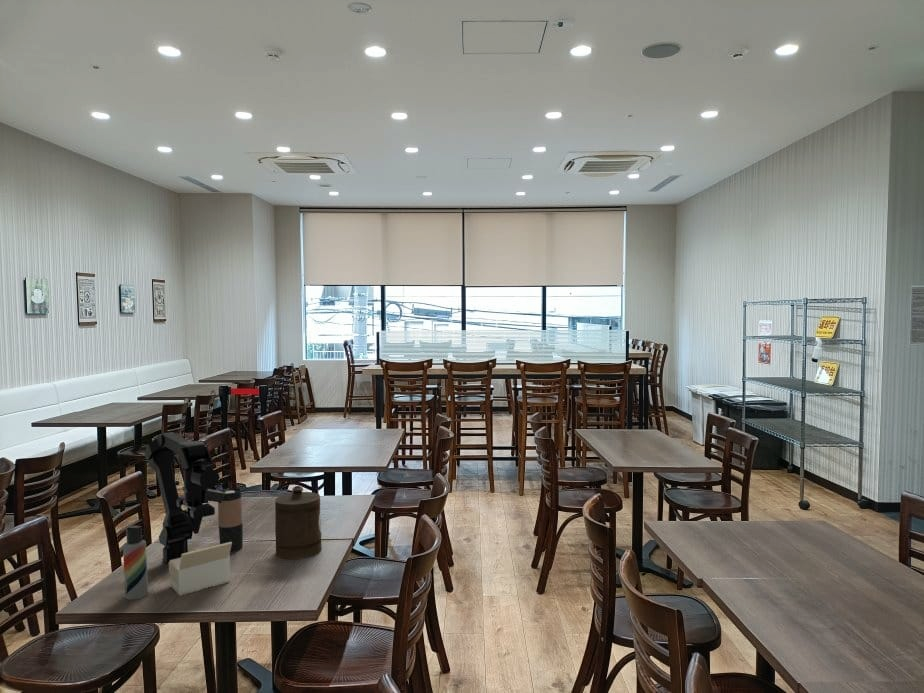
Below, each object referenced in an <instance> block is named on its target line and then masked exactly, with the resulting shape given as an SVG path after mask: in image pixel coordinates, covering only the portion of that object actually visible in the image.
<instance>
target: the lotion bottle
mask: <svg viewBox="0 0 924 693" xmlns="http://www.w3.org/2000/svg"><path fill="white" fill-rule="evenodd" d="M125 530H126V532H125V533H126V534H125V537H126V541H125V543H124V544H123V545H122V550H123V551H122V555H123V556H122V558H123V577H124V578H123V579H124V582H123V583H124V597H125V599H126V600H130V601H133V600H138V599H142V598H144V597H146V596H147V595H148V592H149V591H148V590H149V589H148V587H149V585H148V562H147V558H148V557H147V542H146V540H145V539H143V533H142V532H143V531H142V525H129V526H127V527H126V528H125Z"/></svg>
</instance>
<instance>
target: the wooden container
mask: <svg viewBox="0 0 924 693" xmlns="http://www.w3.org/2000/svg"><path fill="white" fill-rule="evenodd" d="M291 491H292V492H291V493H290V492H289V493H286V494H285V493H284V494H282V495H279V496H277V497H276V499H275V503H274V506H275V514H274V516H275V518H274V519H275V524H274V525H275V527H274V528H275V531H274V532H275V533H274V534H275V554H276V556H277V557H278V558H281V559H283V560H284V559H285V560H301V558H302V559H306V558H310V557H312V556H315V555H317V554H319V553H320V552H321V551H322V547H323V546H322V520H321V519H322V518H321V495H320V494H319V493H316V492H314V491H313V492H311V491H304V488H303V487H302V486H301V485H295V486H294V487H292V490H291Z"/></svg>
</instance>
